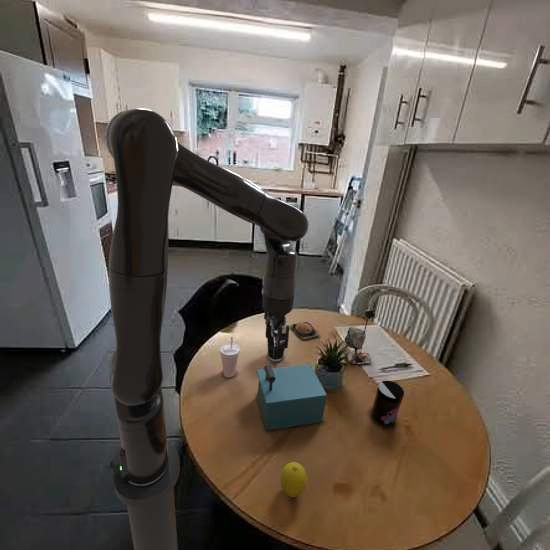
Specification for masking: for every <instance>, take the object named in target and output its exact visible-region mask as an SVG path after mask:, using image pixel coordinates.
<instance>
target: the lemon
mask: <svg viewBox="0 0 550 550" xmlns="http://www.w3.org/2000/svg"><path fill="white" fill-rule="evenodd" d="M279 481H280V486H281V489H282V491H283V493H284V494H285V495H286V496H288V497H290V498H297V497H299V496H301V495H302V494H303V493H304V491H305V489H306V486H307V481H308V480H307V473H306V469H305V468H304V467H303V465H301V464H300V463H299V462H296V461H291V462H288V463H287V464H286V465H285V466H284V467H283V468H282V471H281V473H280V480H279Z"/></svg>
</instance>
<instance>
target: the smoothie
mask: <svg viewBox="0 0 550 550" xmlns="http://www.w3.org/2000/svg"><path fill="white" fill-rule="evenodd" d="M233 341H234V336H233V335H231V336H230V342H227V343H224V344H222V345H221V346H220V348H219V354H220V358H221V366H222V372H223V373H222V374H223V376H224V377H225V378H229V379H230V378H233V377H235V375H236V371H237V367H238V366H237V365H238V359H239V355H240V354H241V347H240V345H238V344H236V343H234V342H233Z"/></svg>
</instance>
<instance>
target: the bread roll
mask: <svg viewBox="0 0 550 550" xmlns="http://www.w3.org/2000/svg"><path fill="white" fill-rule="evenodd" d="M290 328H291V329H292V330H293V331H294V332H295V334H296V335H297V336H298V337H300V338H301V339H302V340H303V341H305V340H309V339H315V338H319V337H320V335H319V333H318V332H317V330H315V328H314V327H313V326H312V324H311V323H310V322H308V321H304V322H301V323H299V322H298V323H293V324H292V325H291V326H290Z"/></svg>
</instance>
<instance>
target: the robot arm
mask: <svg viewBox="0 0 550 550" xmlns="http://www.w3.org/2000/svg"><path fill="white" fill-rule="evenodd" d="M104 140H105V141H104V142H105V145H106V148H107V151H108V153H109V155H110V156H111V157H112V159H113V163H114V170H115V181H116V193H117V194H116V195H117V210H116V211H117V212H116V218H115V222H114V228H113V231H112V236H111V241H110V248H109V255H108V256H109V257H108V289H109V300H110V301H109V302H110V309H111V316H112V321H113V328H114V334H115V348H116V349H115V351H114V352H113V353H112V355H111V357H110V359H109V365H108V366H109V367H108V368H109V386H110V390H111V393H112V395H113V400H114V407H115V408H114V409H115V411H114V412H115V417H116V422H117V429H118V435H119V436H118V437H119V442H120V447H116V448H115V452H114V457H113V460H112V461H110V463H109V467H110V468H111V469H112V471H113V472H112V473H113V475H114V474H117V473H122V475H123V481H124V484H130V485H131V486H133V487H137V488H144V487H148V486H151V485H153V484H155V483H157V482H158V481H159V480H160V479H161V478H162V477H163V476H164V475H165V473H166V471H167V469H168V465H169V459H168V444H167V443H168V441H167V440H168V439H167V429H166V428H167V427H166V415H165V403H164V394H163V388H162V385H163V380H164V371H163V364H162V362H163V361H162V346H161V343H162V342H161V340H162V329H163V323H164V315H165V307H166V298H167V288H168V287H167V286H168V272H169V242H170V241H169V237H170V236H169V231H170V229H169V214H170V212H169V211H170V205H171V204H170V203H171V196H172V190H173V184H175V185H176V186H180V187H182V188H184V189H187V190H188V191H190V192H191V193H193V194H195V195H198V196H199V197H201V198H202V199H204V200H206V201H208V202H209V203H211V204H212V205H215V206H216V207H218V208H220V209H221V210H224V211H225V212H227V213H229V214H230V215H232V216H234V217H237V218H238V219H241V220H242V221H245V222H247V223H249V224H253V225H256V226H258V227H261V228H262V229H263V230H262V231H263V238H264V243H265V244H264V245H265V250H266V262H265V273H264V278H263V285H262V289H263V290H262V300H261V307H262V309H263V311H264V313H263V319H264V322H265V336H264V337H265V339H266V340H267V339H268V338H273V337H274V352H273V357H274V359H278V358H282V359H283V357H284V354H283V348H285V349H288V347H289V336H290V328H291V326H290V325H289V324H287V317H286V315H288V314H289V313H291V312H292V311H293V308H294V301H295V295H296V285H297V284H296V281H297V279H296V275H297V267H298V253H297V251H296V250H295V249H294V247H293V246H292V244H291V243H294V242H295V243H296V242H299V241H300V240H302V239H303V238H304V237H305V236H306V235H307V233H308V231H309V220H308V217H307V216H306V214H305V213H304V211H302V210H301V209H299V208H297V207H296V206H293V205H292V204H289V203H288V202H286V201H284V200H281V199H279V198H277V197H275V196H273V195H271V194H270V193H269V192H267V191H266V190H264V189H263V188H261V187H260V186H258V185H256V184H254V183H253V182H251V181H250V180H248V179H246V178H244V177H243V176H240V175H239V174H237V173H236V172H235V173H234V172H232V171H230V170H228V169H226V168H224V167H222V166H220V165H217V164H215V163H213V162H211V161H210V160H207V159H205V158H203V157H202V156H200V155H198V154H197V153H195V152H193V151H192V150H190V149H189V148H187V147H185V146H184V145H183V144H181V143H180V142H178V140H177V136H176V133H175V131H174V129H173V128H172V126H171V125H170V123H169V121H167V120H166V119H165V117H164V116H162V115H160V114H159V113H158V112H155V111H153V110H151V109H149V108H148V109H147V108H130V109H125V110H123V111H120V112H118V113H116V114H115V115H114V116H113V117H111V119H110V120H109V121H108V122H107V125H106V128H105V131H104ZM275 331H277V333H275ZM281 340H282V341H281ZM282 356H283V357H282Z"/></svg>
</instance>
